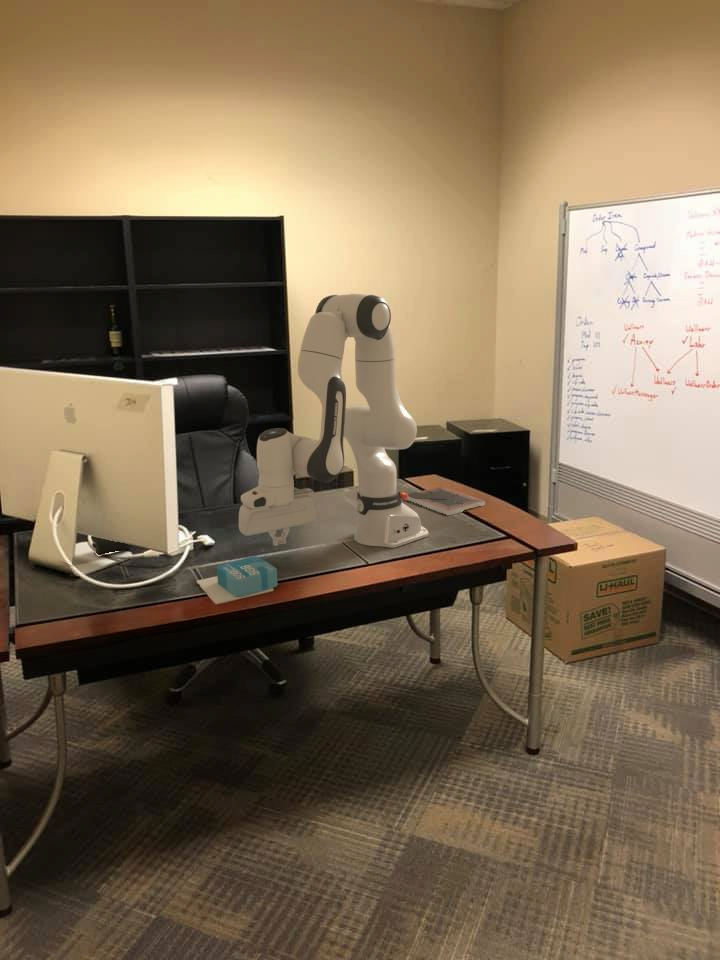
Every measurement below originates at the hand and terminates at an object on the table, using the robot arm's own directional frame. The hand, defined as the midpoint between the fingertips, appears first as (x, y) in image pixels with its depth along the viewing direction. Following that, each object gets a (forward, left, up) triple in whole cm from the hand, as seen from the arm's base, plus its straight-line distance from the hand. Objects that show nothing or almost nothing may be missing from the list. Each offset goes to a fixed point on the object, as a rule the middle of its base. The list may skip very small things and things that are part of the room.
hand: (279, 544), depth 191 cm
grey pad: (+13, 0, -9) cm, 16 cm away
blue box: (+4, 0, -6) cm, 7 cm away
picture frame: (-72, -28, -10) cm, 78 cm away
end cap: (+34, -41, -9) cm, 54 cm away
